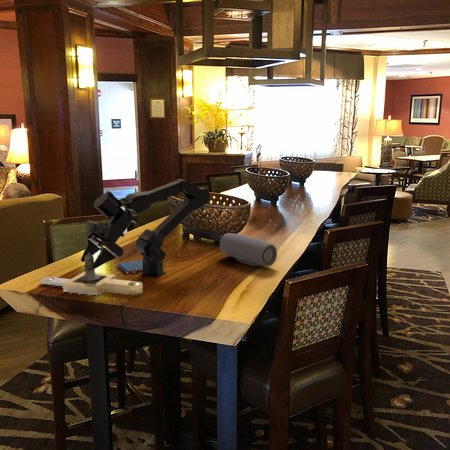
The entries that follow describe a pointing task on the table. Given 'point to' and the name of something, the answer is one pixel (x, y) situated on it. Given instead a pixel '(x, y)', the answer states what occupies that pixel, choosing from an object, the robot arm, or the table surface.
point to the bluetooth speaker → (248, 250)
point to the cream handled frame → (60, 283)
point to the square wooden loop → (106, 284)
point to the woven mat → (131, 266)
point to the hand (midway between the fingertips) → (87, 264)
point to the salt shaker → (89, 271)
